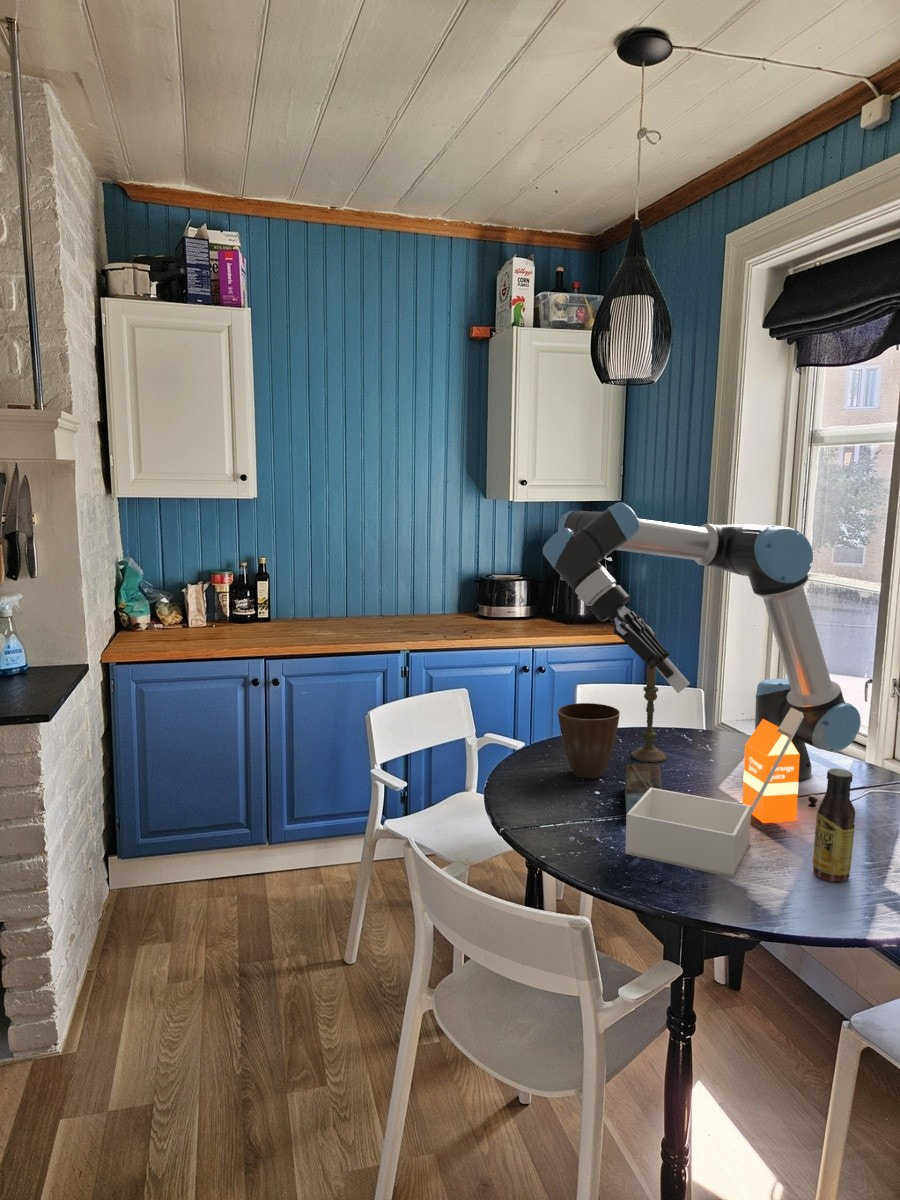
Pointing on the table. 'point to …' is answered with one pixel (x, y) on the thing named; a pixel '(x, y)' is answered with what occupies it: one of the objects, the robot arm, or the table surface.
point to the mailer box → (688, 831)
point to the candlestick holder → (649, 724)
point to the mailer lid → (789, 730)
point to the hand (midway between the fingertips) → (684, 688)
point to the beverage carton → (640, 782)
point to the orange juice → (782, 786)
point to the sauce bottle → (835, 829)
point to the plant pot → (588, 736)
